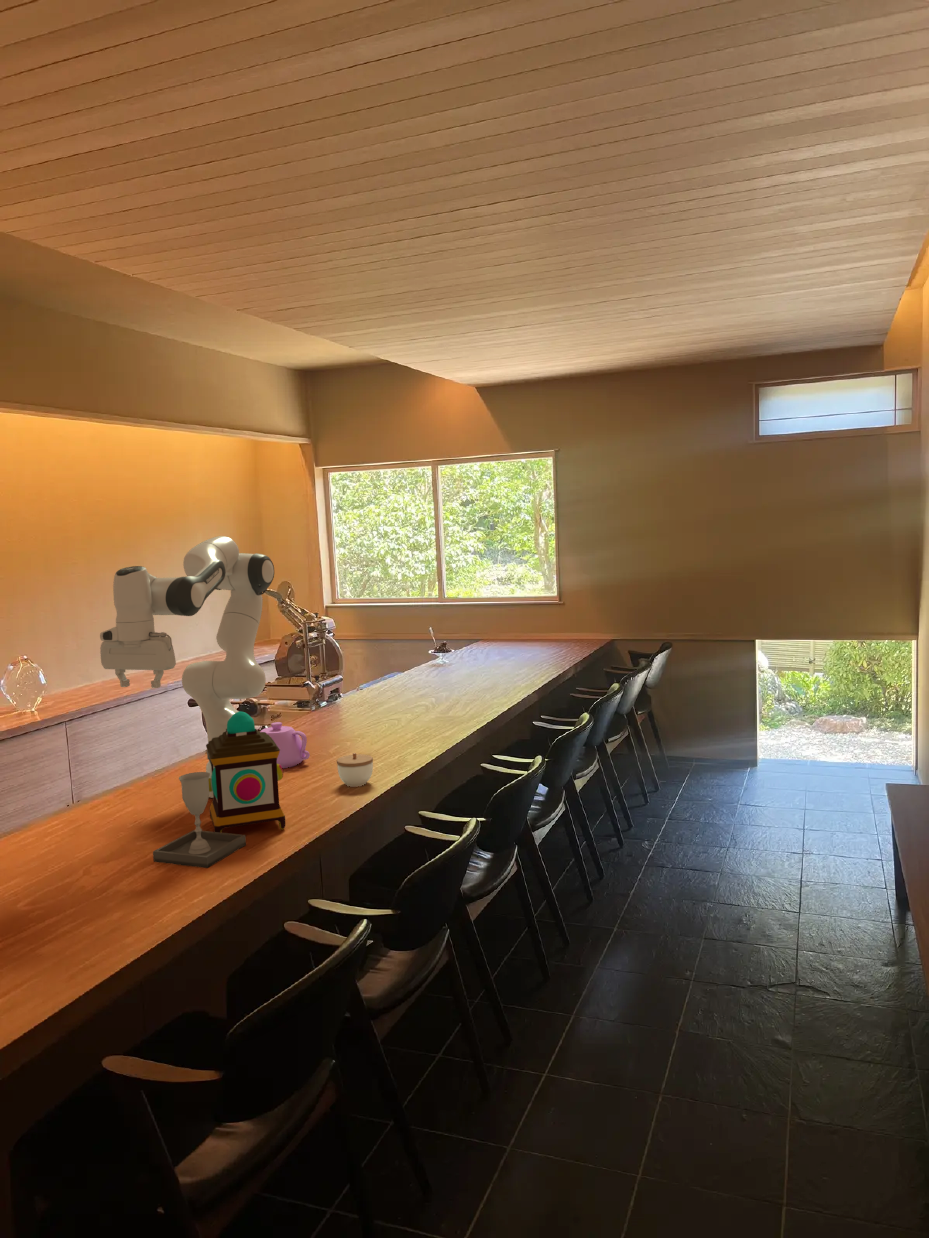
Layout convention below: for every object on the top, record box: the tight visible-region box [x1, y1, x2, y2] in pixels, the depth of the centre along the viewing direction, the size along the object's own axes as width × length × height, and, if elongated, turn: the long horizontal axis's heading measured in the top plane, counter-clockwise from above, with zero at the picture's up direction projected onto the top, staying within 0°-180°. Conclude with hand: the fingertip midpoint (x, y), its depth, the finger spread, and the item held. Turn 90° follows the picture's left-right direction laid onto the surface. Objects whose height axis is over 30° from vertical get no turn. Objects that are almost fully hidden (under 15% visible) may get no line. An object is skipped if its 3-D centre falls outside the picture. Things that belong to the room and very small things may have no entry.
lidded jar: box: [336, 752, 374, 788], centre depth 257 cm, size 11×11×9 cm
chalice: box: [178, 771, 211, 854], centre depth 203 cm, size 7×7×18 cm
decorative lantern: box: [205, 710, 286, 833], centre depth 222 cm, size 20×20×30 cm
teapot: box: [259, 721, 311, 769], centre depth 285 cm, size 25×18×14 cm
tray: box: [152, 829, 247, 869], centre depth 204 cm, size 15×15×2 cm
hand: (140, 687), depth 215 cm, fingers open, 8 cm apart
